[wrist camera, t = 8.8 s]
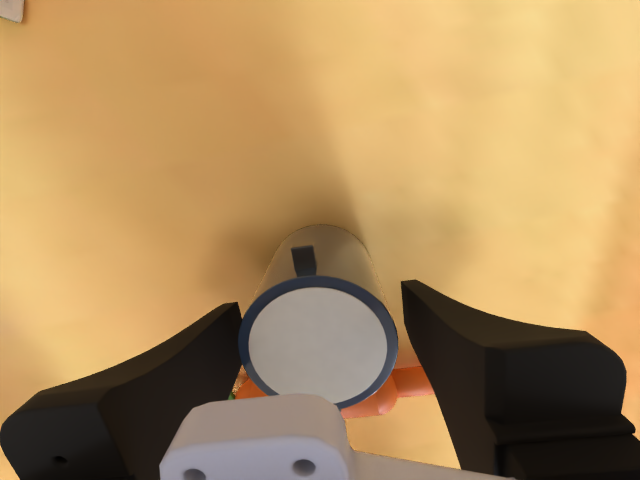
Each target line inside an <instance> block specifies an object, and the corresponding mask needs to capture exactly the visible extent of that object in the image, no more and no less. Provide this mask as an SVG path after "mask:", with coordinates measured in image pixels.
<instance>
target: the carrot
mask: <svg viewBox="0 0 640 480" xmlns="http://www.w3.org/2000/svg"><path fill="white" fill-rule="evenodd" d="M431 394H435V393H434V390H433V388H432V386H431V384H430V382H429V380H428V378H427V376H426V374H425V372H424V370H423V367H422V366H420V367H411V368H401V369H393V370H392V372H391V374H390V376H389V377H388V379H387V380H386V382H385V383H384V384H383V385H382V386H381V387H380V389H378V390H377V391H376V392H375V393H374V394H373V395H371V396H370V397H368V398H367V399H365V400H363V401H362V402H360V403H358V404H355V405H353V406H350V407H347V408H344V409H341V412H340V413H341V415H342V417H343V419H345V418H356V417H367V416H377V415H383V414H385V413H387V412H389V411H390V410H391V409H392V408H393V407H394V405H395V403H396V401H397V398H400V397H411V396H421V395H431ZM265 396H268V395H266V394H265V393H264V392H263V391H261V390H260V389H259V388H258V387H257V386H256V385H255V384H254V383H253V382H252V380H251V379H249V380H247V381H246V382H245V383H243V384H242V385H241V386H240V388H239V389H238V391H237V393H236V396H235V395H234V394H233V392H232V391H231V393H230V396H229V398H228V400H235V399H245V398H255V397H265Z"/></svg>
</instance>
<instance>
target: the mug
mask: <svg viewBox="0 0 640 480" xmlns="http://www.w3.org/2000/svg"><path fill="white" fill-rule="evenodd" d="M238 350H239V355H240V359H241V362H242V365H243V367H244V369H245V371H246V373H247V375H248V376H249V377H250V379H251V380H252V382H253V383H254V384H255V385H256V386H257V387H258V388H259V389H260V390H261V391H263V392H264V393H265V394H266V395H268V396H275V395H285V394H295V393H302V394H311V395H319V396H321V397H323V398H324V399H326V400H328V401H329V402H331V403H333V404H334V405H336V406H337V408H338V410H339V411H340V412H341V409H344V408H347V407H350V406H353V405H355V404H358V403H360V402H362V401H363V400H365V399H367V398H368V397H370V396H371V395H373V394H374V393H375V392H376V391H377V390H378V389H380V387H381V386H382V385H383V384H384V383H385V382H386V380H387V379H388V377H389V376H390V374H391V372H392V370H393V368H394V365H395V362H396V359H397V354H398V336H397V330H396V327H395V324H394V321H393V318H392V316H391V313H390V310H389V308H388V305H387V302H386V299H385V297H384V294H383V291H382V288H381V286H380V283H379V280H378V278H377V275H376V272H375V269H374V267H373V264H372V261H371V258H370V256H369V254H368V252H367V250H366V248H365V247H364V245H363V244H362V243H361V242H360V240H359V239H358V238H356V237H355V236H354V235H353V234H351V233H349V232H348V231H346V230H344V229H342V228H339V227H335V226H331V225H312V226H307V227H304V228H301V229H299V230H297V231H295V232H293V233H292V234H290V235H289V236H288V237H287V238H286V239H284V240H283V242H282V243H281V244H280V245H279V247H278V249H277V250H276V252H275V254H274V256H273V258H272V260H271V262H270V264H269V266H268V268H267V270H266V272H265V274H264V276H263V278H262V280H261V282H260V284H259V286H258V288H257V290H256V292H255V294H254V296H253V298H252V300H251V302H250V304H249V306H248V308H247V310H246V312H245V315H244V317H243V319H242V321H241V325H240V328H239V333H238Z"/></svg>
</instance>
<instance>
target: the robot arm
mask: <svg viewBox="0 0 640 480" xmlns="http://www.w3.org/2000/svg"><path fill="white" fill-rule="evenodd" d="M401 289H402V301H403V314H404V324H405V327H406V330H407V333H408V336H409V339H410V342H411V345H412V347H413V349H414V351H415V353H416V355H417V357H418V359H419V361H420V363H421V365H422V367H423V370H424V372H425V374H426V376H427V378H428V380H429V382H430V384H431V386H432V388H433V390H434V393H435V395H436V397H437V400H438V403H439V406H440V408H441V411H442V414H443V417H444V420H445V422H446V425H447V428H448V431H449V434H450V437H451V440H452V443H453V445H454V448H455V451H456V454H457V457H458V460H459V463H460V467H461V470H460V469H455V468H449V467H443V466H438V465H432V464H427V463H421V462H415V461H410V460H404V459H398V458H393V457H387V456H382V455H376V454H370V453H365V452H359V451H355V450H353V449H352V448H351V446H350V444H349V441H348V438H347V432H346V426H345V421H344V419H343V417H342V415H341V413H340V411H339V410H338V408H337V406H336V405H334V404H333V403H331V402H329V401H328V400H326V399H324V398H323V397H321V396H319V395H311V394H302V393H295V394H285V395H275V396H265V397H255V398H245V399H235V400H228V398H229V396H230V393H231V391H232V388H233V386H234V383H235V381H236V378H237V376H238V373H239V371H240V368H241V366H242V362H241V359H240V355H239V350H238V333H239V328H240V325H241V321H242V317H241V313H240V309H239V306H238V302H233V303H225V304H222V305H220V306H219V307H217V308H215V309H214V310H212V311H211V312H209V313H208V314H206V315H205V316H203V317H202V318H200V319H199V320H198V321H196V322H195V323H193V324H192V325H190V326H189V327H187V328H186V329H184V330H182V331H181V332H179V333H178V334H176V335H174V336H173V337H171V338H170V339H168V340H166V341H165V342H163V343H161V344H159V345H158V346H156V347H154V348H152V349H150V350H148V351H146V352H144V353H142V354H140V355H138V356H136V357H133V358H131V359H129V360H127V361H125V362H122V363H120V364H118V365H116V366H113V367H111V368H108V369H106V370H103V371H101V372H98V373H95V374H92V375H90V376H87V377H84V378H81V379H78V380H75V381H72V382H68V383H65V384H62V385H59V386H55V387H52V388H49V389H45V390H42V391H40V392H38V393H37V394H35V395H34V396H33V397H32V398H30V399H29V400H28V401H27V402H26V403H25V404H23V405H22V406H21V407H20V408H19V409H17V410H16V411H15V412H14V413H13V414H12V415H10V416H9V417H8V418H7V419H6V421H5V422H4V423H3V424H2V427H1V430H0V445H1V447H2V450H3V452H4V454H5V456H6V457H7V459H8V461H9V462H10V464H11V466H12V467H13V469H14V470H15V472H16V474H17V475H18V477H19V478H20V480H640V441H639V440H638V439H637V438H636V437H635V436H634V435H633V434H632V433H635V430H636V429H635V427H634V425H633V424H632V423H631V422H630V421H629V420H628V419H627V418H626V417H625V416H623V415H622V414H621V410H622V404H623V399H624V393H625V387H626V369H625V366H624V363H623V361H622V359H621V358H620V357H619V356H618V355H617V354H616V353H615V352H614V351H613V350H611V349H610V348H609V347H607V346H606V345H604V344H603V343H602V342H600V341H599V340H597V339H596V338H595V337H593V336H592V335H591V334H589V333H588V332H586V331H580V330H570V329H561V328H552V327H545V326H540V325H534V324H528V323H523V322H519V321H514V320H510V319H506V318H503V317H499V316H495V315H492V314H489V313H486V312H483V311H480V310H477V309H474V308H472V307H469V306H467V305H464V304H462V303H460V302H458V301H455V300H453V299H451V298H449V297H447V296H445V295H443V294H441V293H440V292H438V291H436V290H434V289H432V288H430V287H429V286H427V285H425V284H423V283H421V282H420V281H418V280H408V281H401Z"/></svg>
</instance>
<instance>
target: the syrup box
mask: <svg viewBox="0 0 640 480" xmlns="http://www.w3.org/2000/svg"><path fill="white" fill-rule="evenodd" d="M23 8H24V0H0V17H1V18H4V19H6V20H9V21H12V22H15V23H20V22H21V21H22V17H23Z"/></svg>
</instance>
